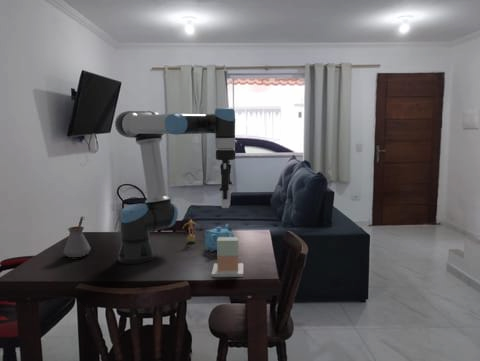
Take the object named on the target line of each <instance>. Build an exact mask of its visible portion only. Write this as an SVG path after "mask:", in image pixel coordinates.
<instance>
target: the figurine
mask: <svg viewBox="0 0 480 361" xmlns="http://www.w3.org/2000/svg"><path fill="white" fill-rule="evenodd" d="M187 225H188V233H189V234H188V235H187V237H186V238H187V239H186V240H187V241H188V242H189V243H194V242H195V241H196V235H194V233H195V232H194V230H195V227H194V226H193V225H196V226H197V228H199V229H200V225H198V223H196V222H194V221H193V219H191V218H190V219H189V221H188V222H186V223H184V225H183V227H182V229H184V228H185V226H187ZM191 231H192V233H191Z"/></svg>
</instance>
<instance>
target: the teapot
mask: <svg viewBox="0 0 480 361" xmlns="http://www.w3.org/2000/svg"><path fill="white" fill-rule="evenodd" d="M228 227H229V223H226V224H225V226H224V228H222V227H221V226H217V227H216V228H212V229H207V230H205V231H204V236H205V239H204V243H205V247H206V248H207V249H208V251H209V252H210V253H213V252H215V251H217V239H218V237H235V235H234V233H233V232H232V231H230V230H229V228H228Z"/></svg>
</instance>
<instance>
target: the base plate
mask: <svg viewBox="0 0 480 361" xmlns="http://www.w3.org/2000/svg"><path fill="white" fill-rule="evenodd" d="M231 277H232V278H235V277H236V278H238V277H239V278H242V277H244V263H243V262H240V263H239V262H238V270H236V271H218V266H217V263H214V264H213V266H212V271H211V278H231Z"/></svg>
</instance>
